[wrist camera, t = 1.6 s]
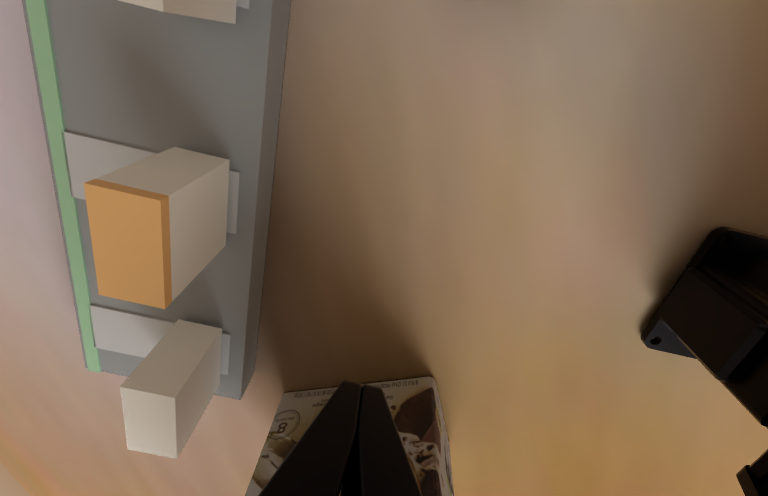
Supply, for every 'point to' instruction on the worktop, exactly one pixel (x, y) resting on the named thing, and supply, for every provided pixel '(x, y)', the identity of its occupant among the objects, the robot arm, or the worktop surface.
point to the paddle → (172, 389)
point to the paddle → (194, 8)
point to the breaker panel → (154, 135)
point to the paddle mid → (157, 224)
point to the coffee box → (410, 413)
